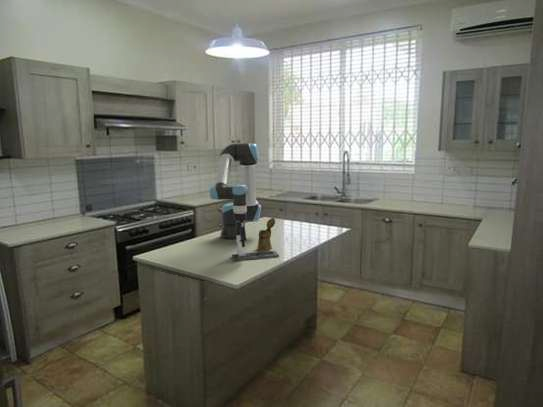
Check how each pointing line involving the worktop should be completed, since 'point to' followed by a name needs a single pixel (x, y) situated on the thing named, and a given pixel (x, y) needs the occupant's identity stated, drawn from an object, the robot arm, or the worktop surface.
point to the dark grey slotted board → (261, 255)
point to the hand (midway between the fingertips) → (241, 249)
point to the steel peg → (239, 250)
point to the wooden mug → (266, 236)
